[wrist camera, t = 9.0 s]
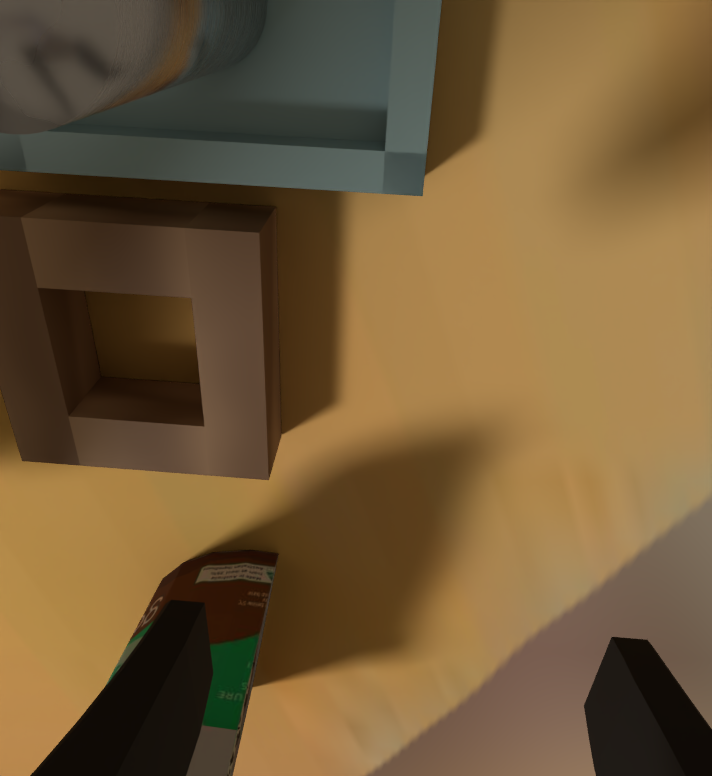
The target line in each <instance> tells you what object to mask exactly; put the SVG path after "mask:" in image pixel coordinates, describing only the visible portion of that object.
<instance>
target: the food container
mask: <svg viewBox="0 0 712 776" xmlns="http://www.w3.org/2000/svg"><path fill="white" fill-rule="evenodd" d="M278 555H279V554H277V553H270V552H262V551H255V550H241V551H227V552H213V553H210V554H207V555H204V556H202V557H199V558H196V559H193V560H190V561H187V562H184V563H182V564H181V565H180V566H178V567H177V568H176V569H175V570H173V571H172V572H171V573H170V574H168V575H167V576H166V577H164V578H163V579H162V581H161V583H160V585H159V587H158V588H157V590H156V592H155V594H154V596H153V598H152V600H151V602H150V603H149V605H148V607H147V609H146V611H145V613H144V615H143V617H142V618H141V620H140V622H139V624H138V626H137V628H136V630H135V632H134V633H133V635H132V637H131V639H130V641H129V643H128V645H127V647H126V649H125V650H124V652H123V654H122V656H121V658H120V660H119V662H118V664H117V665H116V667H115V669H114V671H113V673H112V675H111V677H110V679H109V680H108V682H107V684H108V683H109V681H110V680H111V679H112V677H113V676H114V675H115V674H116V672H117V671H118V670H119V668H120V667H121V666H122V664H123V663H124V662H125V660H126V659H127V658H128V656H129V655H130V654H131V652H132V651H133V650H134V648H135V647H136V646H137V644H138V643H139V641H140V640H141V639H142V637H143V636H144V634H145V633H146V632H147V630H148V629H149V627H150V626H151V624H152V623H153V622H154V620H155V619H156V617H157V616H158V614H159V613H160V611H161V610H162V608H163V607H164V605H165V604H166V603H167V602H169V601H170V600H181V601H193V602H204V603H205V609H206V617H207V625H208V633H209V641H210V649H211V657H212V665H213V677H212V682H211V687H210V691H209V696H208V700H207V705H206V709H205V714H204V718H203V722H202V727H201V731H200V735H199V738H198V741H197V744H196V747H195V750H194V753H193V756H192V759H191V762H190V765H189V768H188V771H187V775H186V776H233V771H234V767H235V762H236V758H237V753H238V749H239V744H240V740H241V735H242V731H243V726H244V722H245V717H246V713H247V708H248V704H249V699H250V695H251V690H252V686H253V681H254V676H255V671H256V666H257V660H258V655H259V650H260V645H261V640H262V635H263V630H264V625H265V620H266V615H267V610H268V605H269V600H270V595H271V590H272V585H273V580H274V575H275V570H276V565H277V560H278ZM107 684H106V685H107Z"/></svg>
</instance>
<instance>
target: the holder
mask: <svg viewBox="0 0 712 776" xmlns="http://www.w3.org/2000/svg"><path fill="white" fill-rule="evenodd" d="M84 291H95V292H109V293H124V294H139V295H153V296H168V297H183V298H191V299H192V309H193V318H194V328H195V338H196V348H197V357H198V367H199V377H200V384H194V383H180V382H167V381H153V380H139V379H125V378H111V377H101V374H100V369H99V364H98V358H97V353H96V348H95V343H94V338H93V333H92V328H91V323H90V318H89V313H88V308H87V303H86V298H85V293H84ZM0 389H1V392H2V395H3V399H4V402H5V405H6V409H7V412H8V415H9V419H10V422H11V425H12V429H13V432H14V435H15V439H16V442H17V445H18V448H19V452H20V455H21V458H22V461H30V462H43V463H56V464H68V465H81V466H94V467H107V468H120V469H133V470H146V471H159V472H172V473H185V474H198V475H210V476H223V477H236V478H249V479H262V480H269V477H270V474H271V470H272V467H273V463H274V460H275V456H276V453H277V449H278V446H279V442H280V439H281V397H280V354H279V311H278V268H277V225H276V207H271V206H255V205H239V204H223V203H207V202H192V201H176V200H160V199H144V198H128V197H112V196H96V195H80V194H64V193H48V192H32V191H16V190H0Z"/></svg>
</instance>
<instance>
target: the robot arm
mask: <svg viewBox="0 0 712 776" xmlns="http://www.w3.org/2000/svg"><path fill="white" fill-rule="evenodd" d="M212 677H213V665H212V657H211V649H210V641H209V633H208V625H207V617H206V609H205V603H204V602H193V601H181V600H170V601H169V602H167V603H166V604H165V605H164V607H163V608H162V610H161V611H160V613H159V614H158V616H157V617H156V619H155V620H154V622H153V623H152V624H151V626H150V627H149V629H148V630H147V632H146V633H145V634H144V636H143V637H142V639H141V640H140V641H139V643H138V644H137V646H136V647H135V648H134V650H133V651H132V652H131V654H130V655H129V656H128V658H127V659H126V660H125V662H124V663H123V664H122V666H121V667H120V668H119V670H118V671H117V672H116V674H115V675H114V676H113V677H112V679H111V680H110V681H109V683H108V684H107V685H106V686H105V688H104V689H103V690H102V691H101V693H100V694H99V695H98V696H97V698H96V699H95V700H94V701H93V703H92V704H91V705H90V707H89V708H88V709H87V710H86V712H85V713H84V714H83V715H82V716H81V718H80V719H79V720H78V721H77V723H76V724H75V725H74V726H73V727H72V728H71V730H70V731H69V732H68V733H67V734H66V735H65V736H64V738H63V739H62V740H61V741H60V742H59V743H58V745H57V746H56V747H55V748H54V749H53V750H52V752H51V753H50V754H49V755H48V756H47V757H46V758H45V760H44V761H43V762H42V763H41V764H40V765H39V767H38V768H37V769H36V770H35V771H34V772H33V773H32V774H31V775H30V776H186V775H187V771H188V768H189V765H190V762H191V759H192V756H193V753H194V750H195V747H196V744H197V741H198V738H199V735H200V731H201V727H202V722H203V718H204V714H205V709H206V705H207V700H208V696H209V691H210V687H211V682H212ZM584 708H585V715H586V721H587V728H588V734H589V740H590V746H591V752H592V758H593V763H594V769H595V772H596V776H712V729H711V728H710V726H709V725H708V723H707V722H706V721H705V720H704V718H703V717H702V715H701V714H700V712H699V711H698V710H697V708H696V707H695V706H694V704H693V703H692V701H691V700H690V699H689V697H688V696H687V694H686V693H685V692H684V690H683V689H682V687H681V686H680V685H679V683H678V682H677V680H676V679H675V677H674V676H673V675H672V673H671V672H670V670H669V669H668V668H667V666H666V665H665V663H664V662H663V660H662V659H661V658H660V656H659V655H658V653H657V652H656V651H655V649H654V648H653V646H652V645H651V644H650V643H649V642H648V640H643V639H631V638H619V637H612V638H611V640H610V643H609V645H608V648H607V650H606V653H605V655H604V657H603V660H602V662H601V665H600V667H599V670H598V672H597V675H596V677H595V680H594V683H593V685H592V687H591V690H590V692H589V695H588V697H587V700H586V702H585V705H584Z"/></svg>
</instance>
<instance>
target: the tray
mask: <svg viewBox="0 0 712 776" xmlns="http://www.w3.org/2000/svg"><path fill="white" fill-rule="evenodd" d="M441 3H442V0H267V15H266V21H265V25H264V29H263V32H262V34H261V37H260V39H259V41H258V43H257V44H256V46H255V48H254V49H253V50H252V51H251V53H250V54H249V55H248V56H247V57H246V58H244V59H243V60H242V61H240V62H239V63H238V64H236V65H234V66H232V67H229V68H226V69H223V70H221V71H218V72H215V73H212V74H209V75H206V76H203V77H201V78H198V79H195V80H192V81H189V82H186V83H183V84H180V85H178V86H175V87H172V88H169V89H166V90H163V91H160V92H157V93H155V94H152V95H149V96H146V97H143V98H140V99H137V100H135V101H132V102H129V103H126V104H123V105H120V106H117V107H114V108H112V109H109V110H106V111H103V112H100V113H97V114H94V115H91V116H89V117H86V118H83V119H80V120H77V121H74V122H71V123H68V124H66V125H63V126H60V127H57V128H54V129H51V130H47V131H44V132H41V133H33V134H26V135H25V134H6V133H0V170H8V171H24V172H40V173H56V174H73V175H89V176H105V177H121V178H137V179H154V180H170V181H186V182H202V183H219V184H235V185H251V186H267V187H283V188H300V189H316V190H332V191H348V192H364V193H381V194H397V195H413V196H423V186H424V176H425V165H426V155H427V145H428V135H429V125H430V115H431V105H432V95H433V84H434V74H435V64H436V54H437V44H438V34H439V24H440V14H441Z"/></svg>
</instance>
